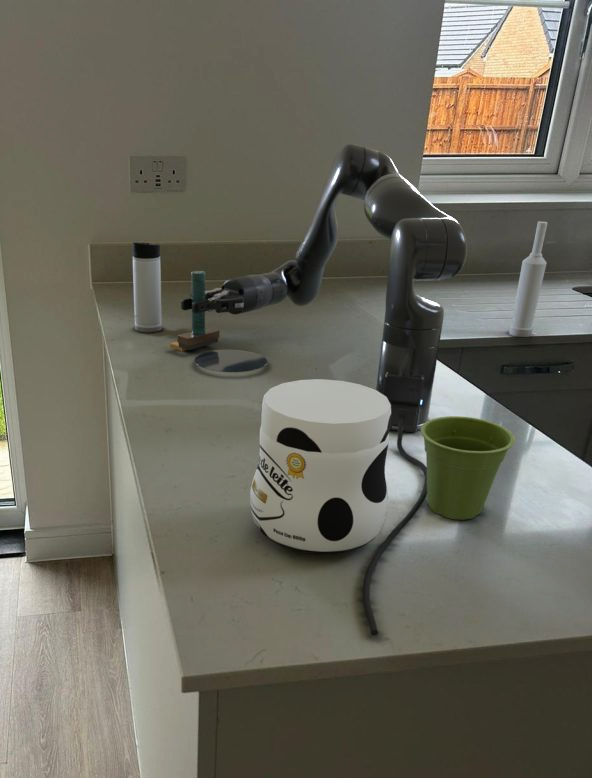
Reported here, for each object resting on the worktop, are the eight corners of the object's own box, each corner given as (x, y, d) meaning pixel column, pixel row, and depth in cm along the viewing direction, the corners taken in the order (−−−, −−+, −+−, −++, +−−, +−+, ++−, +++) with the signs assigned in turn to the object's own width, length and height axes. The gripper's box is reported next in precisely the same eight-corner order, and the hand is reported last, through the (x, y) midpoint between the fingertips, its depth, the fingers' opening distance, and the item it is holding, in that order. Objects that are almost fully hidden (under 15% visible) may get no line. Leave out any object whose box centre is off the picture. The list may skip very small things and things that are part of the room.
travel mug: (129, 330, 183) (125, 241, 174) (144, 324, 189) (141, 237, 179) (152, 334, 181) (149, 244, 171) (166, 327, 186) (165, 240, 176)
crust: (182, 356, 167) (182, 347, 166) (170, 352, 169) (169, 343, 168) (196, 352, 169) (196, 343, 168) (183, 348, 172) (183, 339, 171)
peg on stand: (208, 338, 170) (208, 267, 163) (219, 342, 168) (220, 270, 161) (177, 346, 165) (175, 274, 158) (188, 350, 163) (187, 276, 155)
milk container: (222, 535, 100) (225, 403, 92) (294, 488, 112) (303, 367, 104) (340, 582, 91) (356, 440, 83) (406, 525, 103) (425, 396, 95)
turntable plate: (257, 381, 153) (257, 375, 152) (184, 373, 157) (184, 367, 156) (274, 359, 166) (274, 353, 165) (206, 352, 170) (206, 346, 169)
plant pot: (393, 496, 111) (403, 422, 105) (462, 484, 114) (476, 411, 109) (443, 536, 101) (457, 457, 95) (517, 521, 105) (535, 443, 99)
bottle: (533, 338, 182) (557, 224, 170) (509, 336, 182) (532, 223, 170) (529, 332, 186) (553, 221, 174) (506, 330, 187) (528, 220, 175)
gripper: (225, 271, 174) (165, 282, 163) (271, 281, 165) (211, 293, 154) (224, 305, 177) (166, 318, 167) (269, 317, 168) (210, 331, 158)
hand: (188, 306), depth 161 cm, fingers closed on peg on stand, 3 cm apart
